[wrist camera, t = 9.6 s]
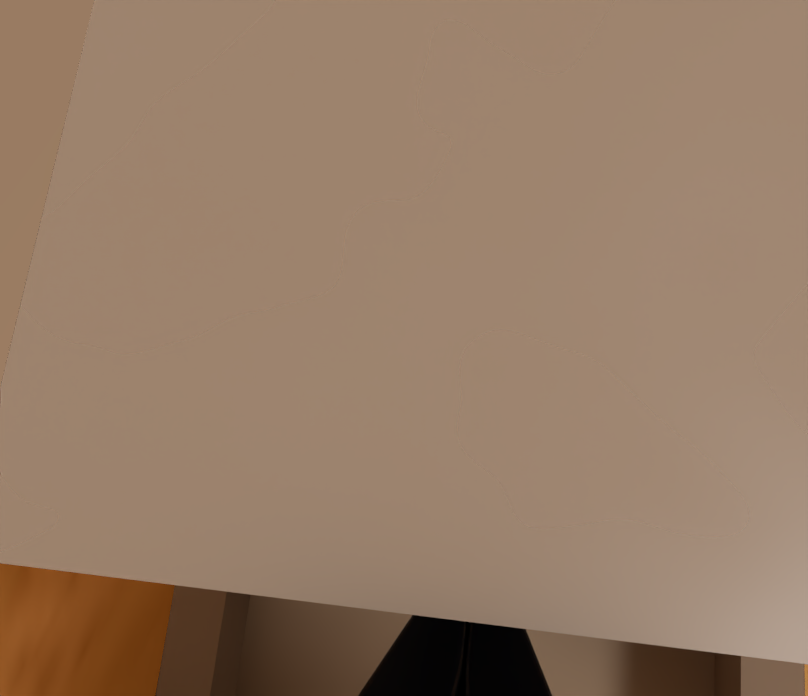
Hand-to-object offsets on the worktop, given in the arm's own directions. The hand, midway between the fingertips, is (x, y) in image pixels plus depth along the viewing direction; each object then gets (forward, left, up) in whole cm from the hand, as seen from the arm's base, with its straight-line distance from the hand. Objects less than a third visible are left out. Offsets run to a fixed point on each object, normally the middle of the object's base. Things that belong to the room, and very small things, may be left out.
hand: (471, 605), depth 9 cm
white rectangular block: (+3, +2, -3) cm, 5 cm away
